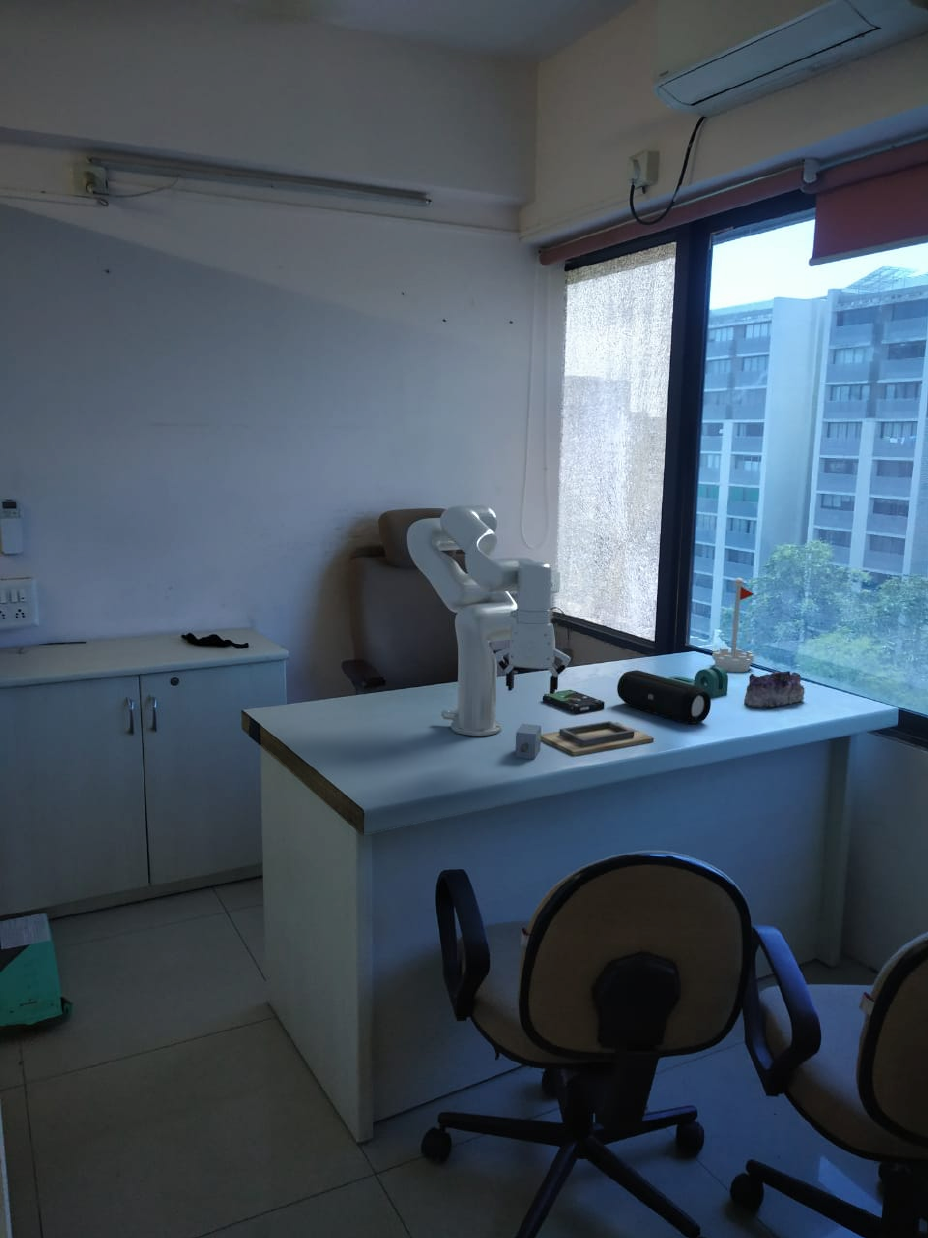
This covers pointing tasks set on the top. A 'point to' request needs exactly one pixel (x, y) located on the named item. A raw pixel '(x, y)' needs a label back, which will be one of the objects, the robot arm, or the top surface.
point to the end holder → (595, 738)
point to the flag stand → (735, 640)
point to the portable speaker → (664, 696)
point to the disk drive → (573, 702)
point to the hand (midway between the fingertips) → (531, 691)
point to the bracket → (708, 681)
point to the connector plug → (528, 741)
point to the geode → (774, 690)
